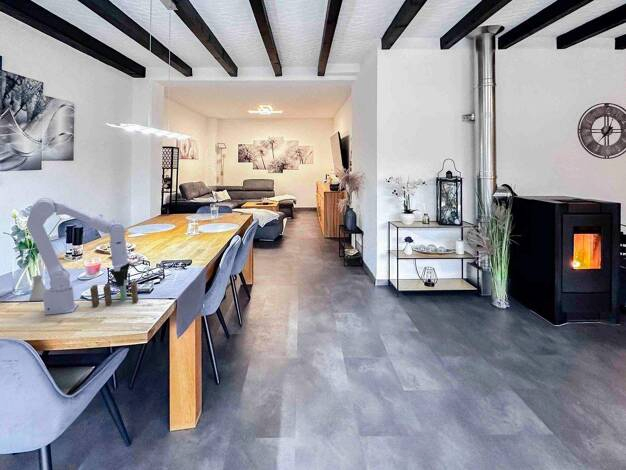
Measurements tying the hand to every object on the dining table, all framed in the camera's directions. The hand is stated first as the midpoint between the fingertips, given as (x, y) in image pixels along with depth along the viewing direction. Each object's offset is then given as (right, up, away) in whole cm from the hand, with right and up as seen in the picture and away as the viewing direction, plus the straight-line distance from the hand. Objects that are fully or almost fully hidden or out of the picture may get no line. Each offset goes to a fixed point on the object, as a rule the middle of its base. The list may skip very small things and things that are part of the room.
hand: (122, 282), depth 156 cm
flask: (-36, -7, +2) cm, 37 cm away
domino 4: (+6, -8, -1) cm, 10 cm away
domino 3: (0, -7, +1) cm, 7 cm away
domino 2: (-3, -8, -4) cm, 10 cm away
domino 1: (-8, -9, -6) cm, 13 cm away
